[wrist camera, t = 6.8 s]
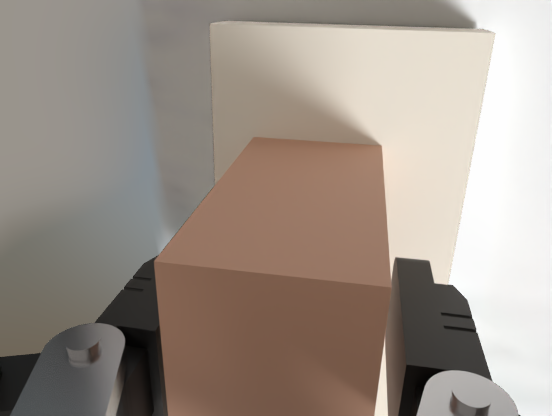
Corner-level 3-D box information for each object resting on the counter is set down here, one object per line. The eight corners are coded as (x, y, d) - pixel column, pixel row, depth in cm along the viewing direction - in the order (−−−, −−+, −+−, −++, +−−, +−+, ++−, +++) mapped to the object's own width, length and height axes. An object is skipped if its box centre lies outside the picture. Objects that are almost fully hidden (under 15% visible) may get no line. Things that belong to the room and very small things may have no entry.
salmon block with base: (483, 28, 11) (642, 83, 5) (417, 400, 16) (449, 693, 9) (224, 21, 12) (50, 56, 6) (231, 373, 16) (140, 623, 10)
